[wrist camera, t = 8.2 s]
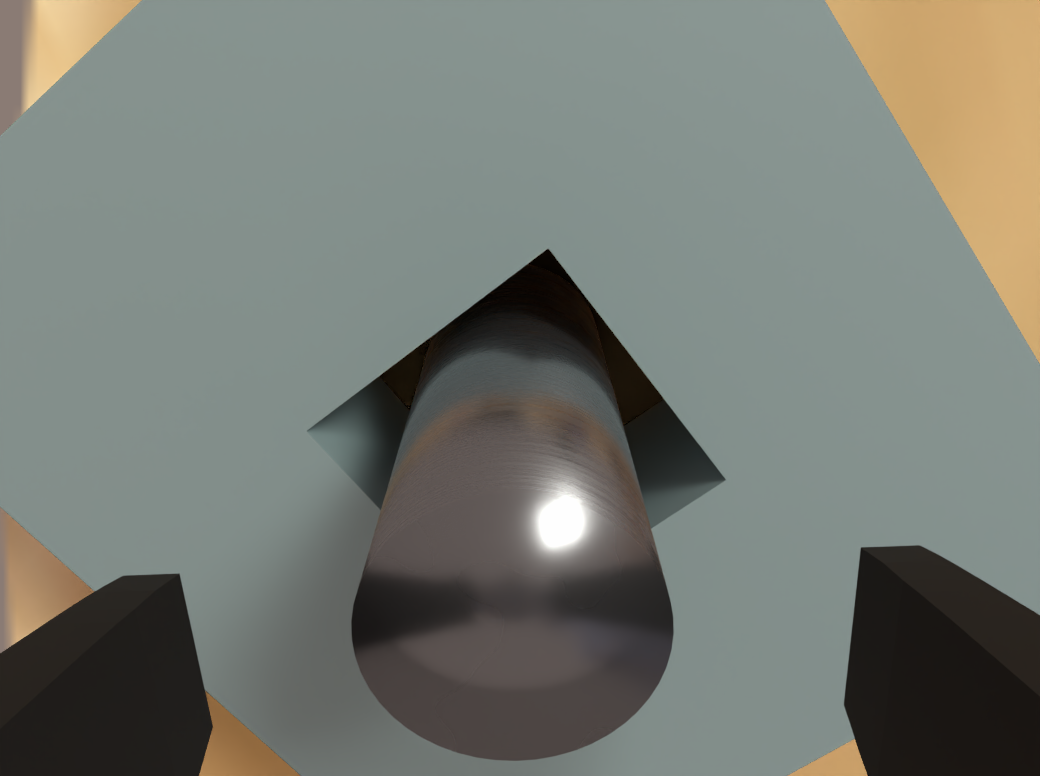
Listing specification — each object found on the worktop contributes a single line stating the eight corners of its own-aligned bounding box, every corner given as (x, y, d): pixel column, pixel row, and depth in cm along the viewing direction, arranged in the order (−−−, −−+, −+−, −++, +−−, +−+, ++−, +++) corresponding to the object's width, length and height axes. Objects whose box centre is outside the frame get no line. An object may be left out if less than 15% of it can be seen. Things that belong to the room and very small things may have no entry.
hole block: (1029, 461, 18) (1161, 570, 14) (491, 782, 21) (485, 940, 17) (561, -290, 13) (578, -417, 10) (-39, 263, 17) (-201, 328, 13)
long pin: (621, 383, 17) (718, 702, 9) (474, 443, 18) (436, 796, 10) (559, 236, 16) (602, 443, 8) (405, 303, 17) (292, 565, 8)
